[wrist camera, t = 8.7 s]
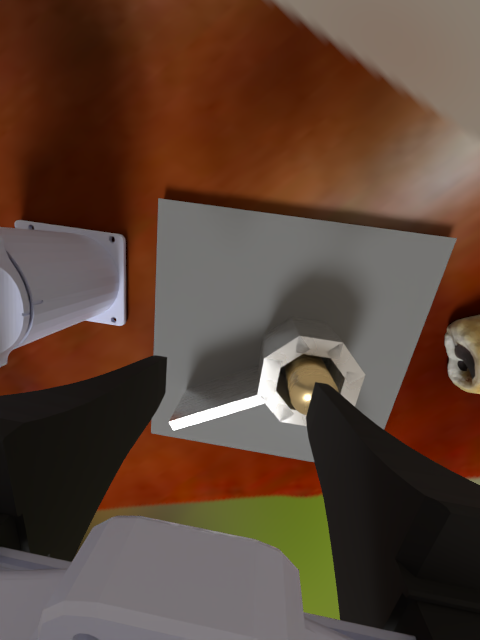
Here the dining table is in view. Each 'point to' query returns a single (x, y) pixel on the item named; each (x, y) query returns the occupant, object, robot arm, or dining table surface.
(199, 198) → the dining table surface
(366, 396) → the mat
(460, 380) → the pastry
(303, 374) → the pin
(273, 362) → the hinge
